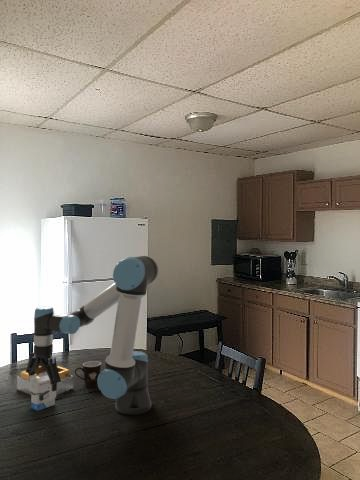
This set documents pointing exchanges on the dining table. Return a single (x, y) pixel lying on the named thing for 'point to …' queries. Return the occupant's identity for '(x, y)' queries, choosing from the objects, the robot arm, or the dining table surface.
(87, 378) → the coffee mug
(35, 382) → the ink box
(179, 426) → the dining table surface
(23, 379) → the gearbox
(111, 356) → the robot arm
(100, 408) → the dining table surface
